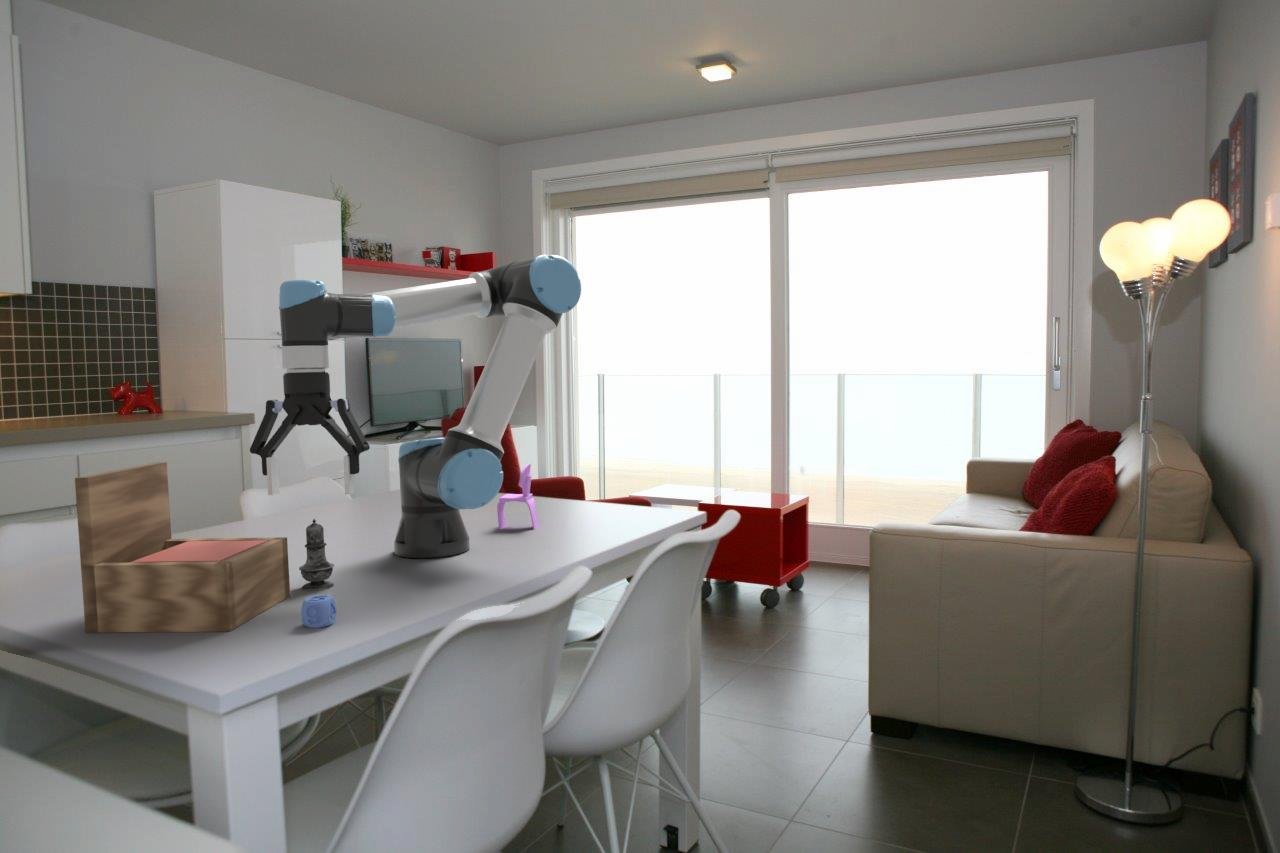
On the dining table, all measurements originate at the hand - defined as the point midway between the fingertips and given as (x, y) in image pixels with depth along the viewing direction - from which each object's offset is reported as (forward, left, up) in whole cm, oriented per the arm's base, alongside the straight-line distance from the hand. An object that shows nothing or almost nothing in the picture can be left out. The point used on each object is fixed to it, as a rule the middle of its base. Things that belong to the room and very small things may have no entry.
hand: (312, 493), depth 159 cm
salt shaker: (0, 0, -17) cm, 17 cm away
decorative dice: (-10, +23, -17) cm, 30 cm away
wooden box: (+13, +16, -16) cm, 27 cm away
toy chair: (-25, -55, -17) cm, 63 cm away
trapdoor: (+11, +16, -7) cm, 21 cm away
